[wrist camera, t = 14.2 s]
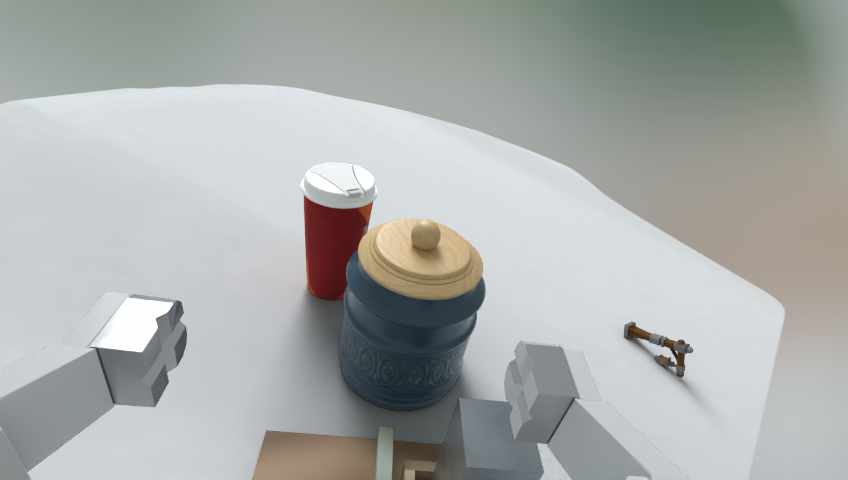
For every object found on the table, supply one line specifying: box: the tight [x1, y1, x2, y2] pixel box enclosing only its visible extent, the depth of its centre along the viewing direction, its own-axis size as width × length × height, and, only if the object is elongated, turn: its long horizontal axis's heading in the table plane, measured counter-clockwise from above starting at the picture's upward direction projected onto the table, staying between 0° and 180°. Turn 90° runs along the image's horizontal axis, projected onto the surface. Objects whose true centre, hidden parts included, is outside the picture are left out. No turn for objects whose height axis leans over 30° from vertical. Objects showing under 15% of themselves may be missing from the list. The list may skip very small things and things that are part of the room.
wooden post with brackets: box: [624, 322, 693, 377], centre depth 55 cm, size 2×8×4 cm, turn 32°
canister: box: [338, 219, 486, 410], centre depth 44 cm, size 13×13×18 cm
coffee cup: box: [300, 162, 378, 300], centre depth 53 cm, size 8×8×15 cm
